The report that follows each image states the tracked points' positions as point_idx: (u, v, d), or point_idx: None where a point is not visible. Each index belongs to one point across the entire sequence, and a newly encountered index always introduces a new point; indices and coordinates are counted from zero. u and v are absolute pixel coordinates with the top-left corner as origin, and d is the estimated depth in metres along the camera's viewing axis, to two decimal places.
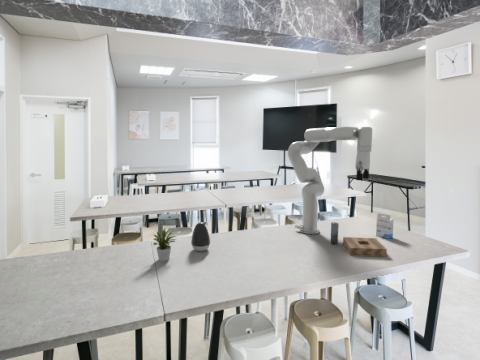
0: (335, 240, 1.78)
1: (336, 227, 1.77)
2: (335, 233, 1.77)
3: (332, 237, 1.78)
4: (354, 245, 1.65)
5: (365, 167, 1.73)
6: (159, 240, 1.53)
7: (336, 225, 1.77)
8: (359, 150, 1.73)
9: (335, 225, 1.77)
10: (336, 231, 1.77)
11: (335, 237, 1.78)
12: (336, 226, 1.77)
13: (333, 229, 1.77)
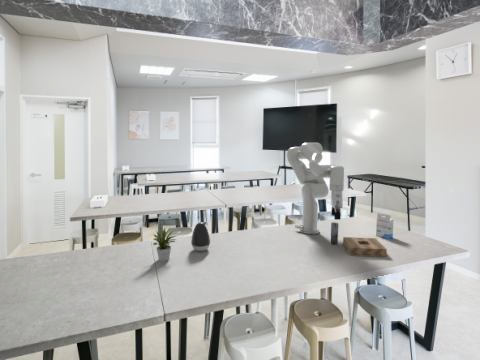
0: (335, 240, 1.78)
1: (336, 227, 1.77)
2: (335, 233, 1.77)
3: (332, 237, 1.78)
4: (354, 245, 1.65)
5: (331, 204, 1.79)
6: (159, 240, 1.53)
7: (336, 225, 1.77)
8: None
9: (335, 225, 1.77)
10: (336, 231, 1.77)
11: (335, 237, 1.78)
12: (336, 226, 1.77)
13: (333, 229, 1.77)
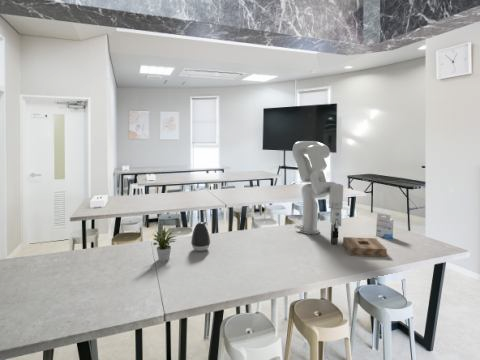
0: (335, 240, 1.78)
1: None
2: None
3: None
4: (354, 245, 1.65)
5: (330, 221, 1.81)
6: (159, 240, 1.53)
7: None
8: None
9: None
10: None
11: None
12: None
13: None
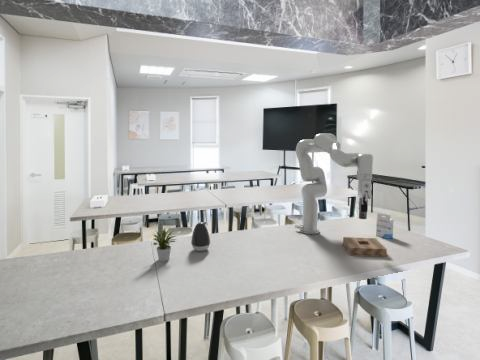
0: (364, 214, 1.66)
1: None
2: None
3: None
4: (354, 245, 1.65)
5: (358, 195, 1.69)
6: (159, 240, 1.53)
7: None
8: None
9: (364, 198, 1.65)
10: None
11: None
12: None
13: None
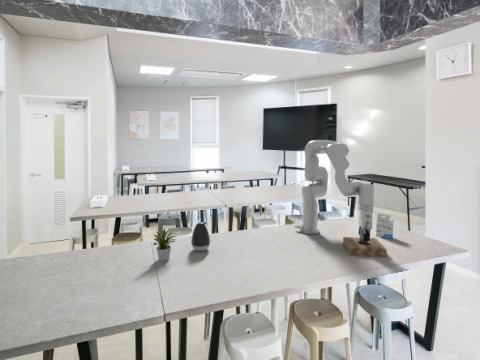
0: None
1: None
2: None
3: (361, 243, 1.68)
4: (354, 245, 1.65)
5: (359, 223, 1.70)
6: (159, 240, 1.53)
7: None
8: None
9: None
10: None
11: (365, 243, 1.67)
12: None
13: (362, 235, 1.67)
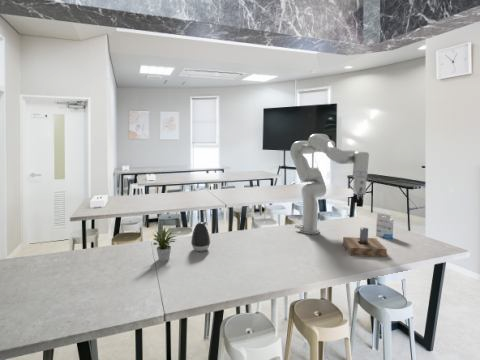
0: None
1: (366, 233, 1.66)
2: (365, 239, 1.67)
3: (361, 243, 1.68)
4: (354, 245, 1.65)
5: (353, 191, 1.75)
6: (159, 240, 1.53)
7: (366, 230, 1.66)
8: None
9: (365, 230, 1.66)
10: (366, 237, 1.67)
11: (365, 243, 1.67)
12: (366, 232, 1.66)
13: (362, 235, 1.67)
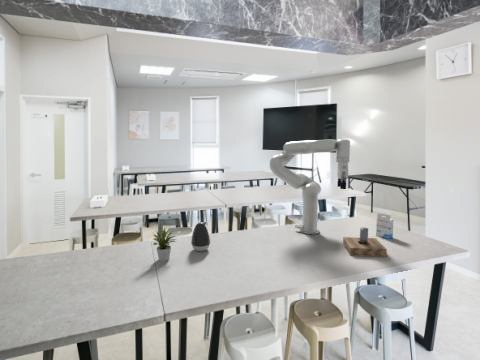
0: None
1: (366, 233, 1.66)
2: (365, 239, 1.67)
3: (361, 243, 1.68)
4: (354, 245, 1.65)
5: (337, 175, 1.93)
6: (159, 240, 1.53)
7: (366, 230, 1.66)
8: None
9: (365, 230, 1.66)
10: (366, 237, 1.67)
11: (365, 243, 1.67)
12: (366, 232, 1.66)
13: (363, 235, 1.67)
